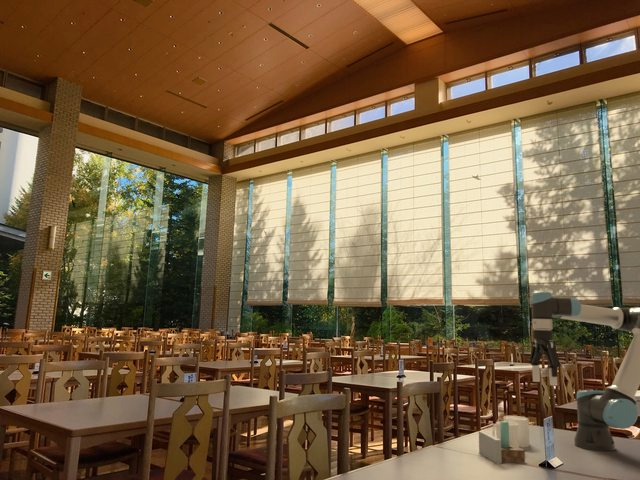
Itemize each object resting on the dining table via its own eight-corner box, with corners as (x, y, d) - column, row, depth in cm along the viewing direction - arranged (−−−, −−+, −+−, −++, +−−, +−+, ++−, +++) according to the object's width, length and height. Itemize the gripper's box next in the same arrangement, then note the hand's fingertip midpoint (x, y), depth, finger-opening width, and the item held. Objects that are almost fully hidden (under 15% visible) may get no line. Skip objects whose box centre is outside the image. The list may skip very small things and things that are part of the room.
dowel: (507, 457, 193) (506, 421, 195) (511, 459, 190) (509, 422, 192) (499, 457, 192) (498, 421, 195) (503, 459, 190) (502, 422, 192)
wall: (484, 452, 199) (483, 431, 200) (501, 463, 183) (501, 440, 184) (479, 452, 198) (478, 431, 200) (496, 463, 183) (495, 440, 184)
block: (512, 455, 196) (512, 444, 197) (525, 461, 187) (524, 450, 187) (487, 454, 196) (487, 443, 196) (498, 461, 186) (498, 449, 187)
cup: (507, 452, 200) (507, 425, 202) (485, 446, 211) (485, 420, 213) (523, 451, 204) (522, 424, 205) (500, 444, 214) (500, 419, 216)
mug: (501, 439, 226) (500, 413, 228) (525, 440, 224) (524, 415, 226) (506, 445, 213) (505, 419, 215) (532, 447, 211) (531, 420, 213)
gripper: (519, 329, 220) (521, 380, 217) (549, 329, 196) (551, 386, 192) (536, 329, 221) (538, 380, 217) (568, 330, 196) (571, 387, 193)
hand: (544, 383), depth 205 cm, fingers open, 13 cm apart
